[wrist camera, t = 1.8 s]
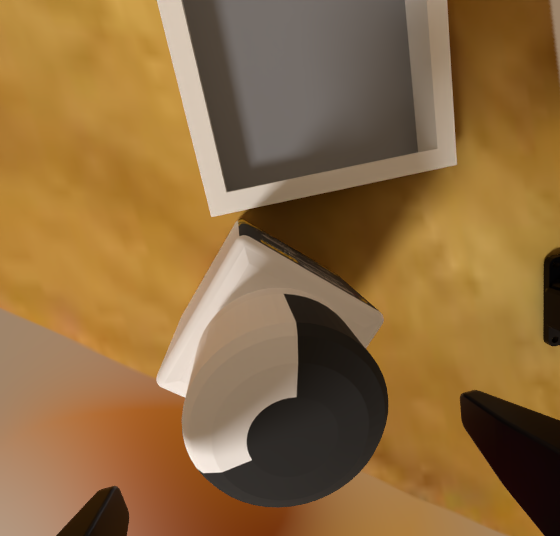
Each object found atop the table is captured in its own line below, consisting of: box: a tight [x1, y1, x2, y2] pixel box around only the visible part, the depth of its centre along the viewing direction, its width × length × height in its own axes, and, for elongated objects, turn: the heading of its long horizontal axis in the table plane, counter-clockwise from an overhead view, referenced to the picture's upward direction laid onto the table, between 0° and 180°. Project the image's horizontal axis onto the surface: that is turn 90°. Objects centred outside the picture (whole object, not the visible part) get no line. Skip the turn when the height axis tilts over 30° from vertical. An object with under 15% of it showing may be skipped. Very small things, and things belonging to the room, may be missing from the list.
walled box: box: [157, 0, 457, 217], centre depth 17 cm, size 13×13×2 cm
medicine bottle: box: [157, 219, 388, 507], centre depth 15 cm, size 7×7×12 cm
